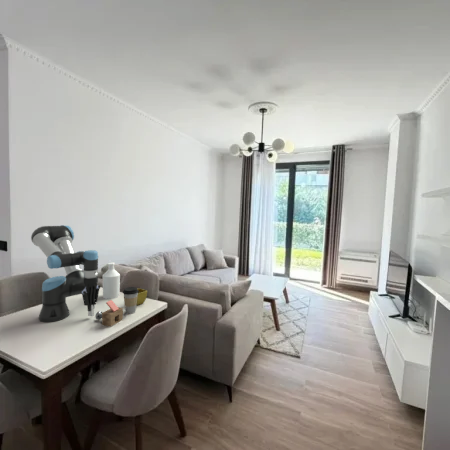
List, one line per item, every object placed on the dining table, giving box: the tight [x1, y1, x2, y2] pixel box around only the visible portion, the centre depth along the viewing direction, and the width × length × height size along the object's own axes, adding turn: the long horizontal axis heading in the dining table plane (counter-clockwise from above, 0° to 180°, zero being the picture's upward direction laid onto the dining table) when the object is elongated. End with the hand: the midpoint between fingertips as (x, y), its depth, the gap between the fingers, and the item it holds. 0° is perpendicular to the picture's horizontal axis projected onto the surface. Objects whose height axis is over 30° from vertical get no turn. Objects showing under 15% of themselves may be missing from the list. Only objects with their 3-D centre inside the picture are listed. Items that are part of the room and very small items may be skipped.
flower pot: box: [136, 288, 148, 306], centre depth 178 cm, size 9×9×9 cm
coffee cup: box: [122, 286, 139, 315], centre depth 164 cm, size 9×9×15 cm
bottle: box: [102, 262, 121, 300], centre depth 190 cm, size 12×12×25 cm
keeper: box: [105, 299, 119, 312], centre depth 148 cm, size 7×4×1 cm
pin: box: [94, 310, 116, 320], centre depth 150 cm, size 11×4×4 cm, turn 74°
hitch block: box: [101, 306, 124, 327], centre depth 149 cm, size 6×10×7 cm, turn 164°
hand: (90, 315), depth 153 cm, fingers closed
